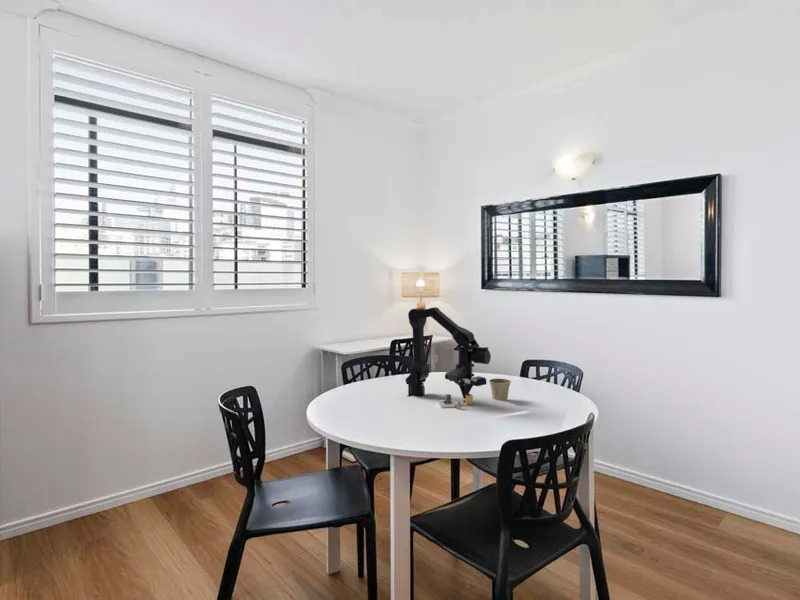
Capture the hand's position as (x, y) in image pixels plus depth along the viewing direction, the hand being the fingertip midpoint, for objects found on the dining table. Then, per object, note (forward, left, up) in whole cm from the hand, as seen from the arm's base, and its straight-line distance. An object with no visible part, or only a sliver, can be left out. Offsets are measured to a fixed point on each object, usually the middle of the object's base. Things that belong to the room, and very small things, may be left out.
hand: (465, 398), depth 202 cm
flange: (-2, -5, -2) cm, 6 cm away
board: (-5, -7, -3) cm, 9 cm away
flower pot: (+12, +12, -3) cm, 17 cm away
